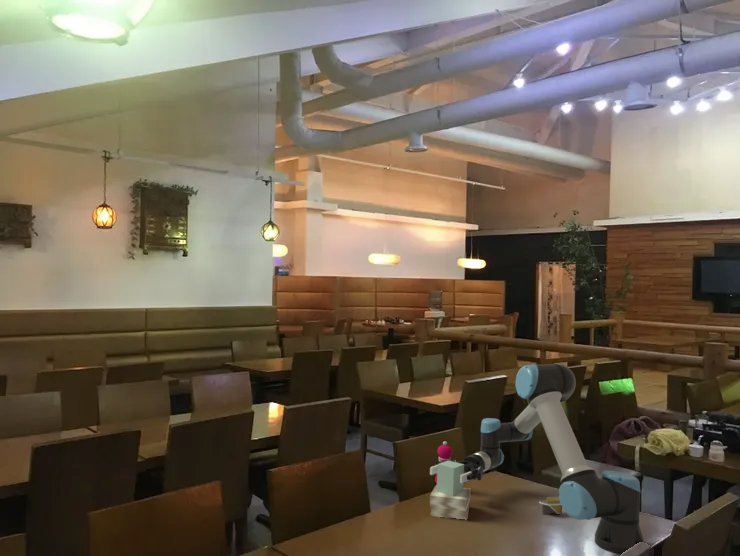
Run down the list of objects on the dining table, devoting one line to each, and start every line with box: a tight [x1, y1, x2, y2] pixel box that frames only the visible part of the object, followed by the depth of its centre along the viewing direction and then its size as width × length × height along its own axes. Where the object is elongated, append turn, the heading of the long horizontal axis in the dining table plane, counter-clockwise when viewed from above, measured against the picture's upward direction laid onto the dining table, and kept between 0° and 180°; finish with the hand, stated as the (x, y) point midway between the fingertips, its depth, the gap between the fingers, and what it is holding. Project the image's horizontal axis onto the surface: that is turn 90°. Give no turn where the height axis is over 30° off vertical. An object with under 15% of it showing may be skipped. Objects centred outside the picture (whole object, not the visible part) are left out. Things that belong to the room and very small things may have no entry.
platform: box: [538, 496, 563, 515], centre depth 231 cm, size 12×18×7 cm, turn 103°
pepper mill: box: [434, 441, 453, 484], centre depth 254 cm, size 7×7×20 cm
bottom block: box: [430, 503, 470, 521], centre depth 231 cm, size 13×13×4 cm
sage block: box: [436, 461, 465, 496], centre depth 231 cm, size 7×7×10 cm
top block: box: [429, 484, 472, 511], centre depth 231 cm, size 13×13×4 cm
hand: (445, 475), depth 228 cm, fingers open, 12 cm apart
